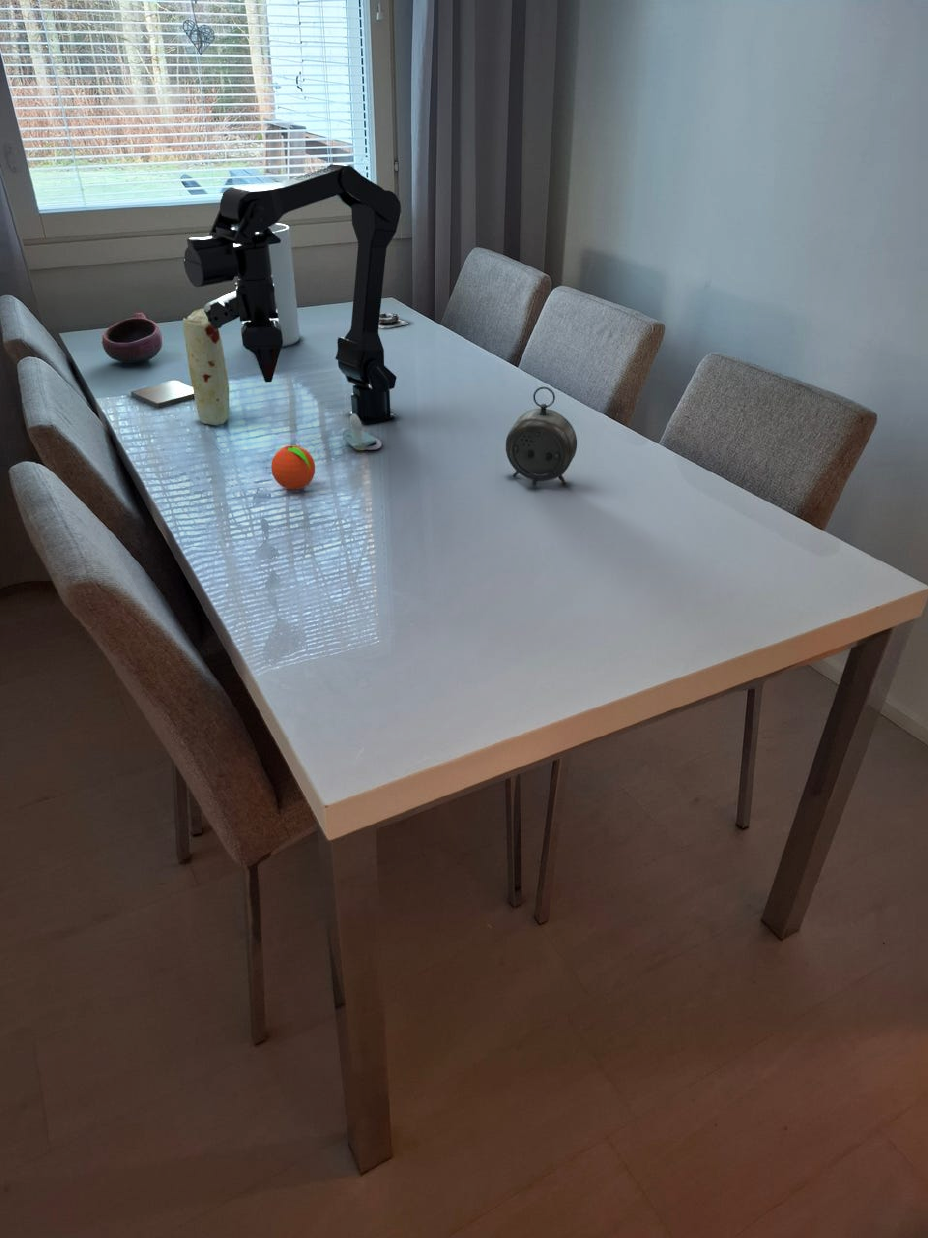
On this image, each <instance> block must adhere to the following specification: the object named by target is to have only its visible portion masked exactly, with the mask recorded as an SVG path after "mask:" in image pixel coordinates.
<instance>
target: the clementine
mask: <svg viewBox="0 0 928 1238" xmlns="http://www.w3.org/2000/svg"><path fill="white" fill-rule="evenodd" d="M270 465H271V466H270V470H271V474H272V476H273V479H274V480H275V481H276V483H278V485H280V486H281V487H283V488H285V489H287V490H291V491H292V490H300V489H304V488H305V487H306V486H308V485H309V484H310V483H311V482H312V480H313V479H314V477H315V474H316V464H315V459H314V458H313V456H312V454H311V453H310V452H309V451H308V450H307V449H305V448H304V447H302V446H299V445H296V444H294V445H293V444H292V445H291V444H290V445H284V446H283V447H282V448H280V449H279V450H277V451H276V452H275V454H274V455H273V457H272V460H271V464H270Z"/></svg>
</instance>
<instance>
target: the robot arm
mask: <svg viewBox="0 0 928 1238" xmlns="http://www.w3.org/2000/svg"><path fill="white" fill-rule="evenodd" d="M336 196H337V197H338V199H339V200H340V201H341V203H343V204H344V205H346V206H347V207H348V208H349V209H350V211H351V225H352V228H353V231H354V234H355V238H356V240H357V254H356V263H355V266H356V267H355V276H354V277H355V278H354V288H353V297H352V298H353V299H352V310H351V321H350V329H349V330H348V331H347V333H346V335H345V336H344V337H343V336H338V337H337V351H336V355H335V358H334V359H335V360H337V365H338V369H339V370H340V371H341V373H342V374H343V375H344V376H345V379H346V381H347V383H349V384H353V385H352V393H351V394H350V404H351V411H350V416H351V415H352V414H354V413H355V414H356V415H357V416H358V417H359V419H360V421H361V424H364V425H370V424H375V423H378V422H384V421H389V420H392V419H395V418H396V415H395V414H393V413H392V411H391V394H390V393H391V390H392V389H395V386H396V383H397V378H398V377H397V376H396V375H395V373H393V371H391V370H390V369H389V368H388V367H387V366H386V365H385V349H384V346H383V343H382V340H381V338H380V334H379V328H380V327H379V317H380V314H381V306H382V305H381V304H382V296H383V287H384V276H385V268H386V267H385V266H386V257H387V249H388V246H389V245H390V243H391V242H392V239H393V238H394V236H395V235H396V233H397V230H398V226H399V222H400V218H401V213H402V203H401V200H400V199H399V197H398V196H397V195H396V193H394V192H393V191H391V190H388V189H384V188H383V187H381V186H380V185H378V184H377V183H375V182H373V181H372V180H370V179H369V178H368V177H365V176H363V175H362V174H361V173H360V172H359V171H357V170H356V169H355V168H354V167H353V166H351V165H349V164H343V163H337V162H336V163H330V164H329V165H327V166H325V167H323V168H320V169H317V170H314V171H311V172H308V173H304V174H301V175H298V176H295V177H291V178H289V179H286V180H282V181H280V182H277V183H274V184H269V185H268V184H267V185H245V186H244V185H243V186H233V187H229V188H227V189H225V190H224V192H222V195H221V199H220V203H219V210H218V213H217V215H216V216H215V220H214V222H213V225H212V227H211V229H210V231H209V232H208V233H209V236H203V237H188V238H187V239H186V243H187V247H186V249H185V250H184V256H183V257H184V258H183V267H184V270H185V271H184V272H185V274H186V276H187V279H188V280H189V281H190V283H191V284H192V286H193V287H195V288H202V287H207V286H213V285H218V284H223V283H228V282H232V281H233V280H234V279H235V281H236V282H234V286H235V291H232V292H231V293H227V294H225V295H222V296H220V297H218V298H216V299H214V300H211V301H209V302H207V303H205V304H204V305H203V309H204V313H205V314H206V316H207V318H208V322H210V323H211V325H212V327H213V329H218V328H219V329H221V328H222V327H223V326H225V325H226V324H228V323H230V322H232V321H236V320H237V319H238V318H239V322H240V323H242V324H241V325H242V326H241V328H240V332H241V333H240V335H241V340H242V347H244V349H246V351H249V352H251V353H252V354H253V355H254V357H255V359H256V361H257V364H258V367H259V370H260V373H261V375H262V378H263V381H264V383H266V384H267V383H272V382H273V378H274V375H275V372H276V369H277V365H278V361H279V358H280V354H281V350H282V348H283V347H282V346H283V337H282V330H281V326H280V325H279V324H278V323H279V322H278V310H277V304H276V300H275V290H274V283H273V276H272V268H271V259H270V251H269V245H271V244H277V243H280V242H281V239H280V238H279V237H278V236H276V235H275V234H274V233H273V232H272V231H271V230H270V228H269V227H270V226H272V225H274V224H275V223H277V224H278V222H279V221H280V220H281V219H282V217H283V216H284V215H287V214H288V213H290V212H294V211H296V210H299V209H301V208H304V207H307V206H310V205H312V204H315V203H319V202H321V201H324V200H328V199H330V198H333V197H336ZM232 228H237V229H238V230H237V231H236V230H232Z"/></svg>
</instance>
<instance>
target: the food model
mask: <svg viewBox="0 0 928 1238" xmlns="http://www.w3.org/2000/svg"><path fill="white" fill-rule="evenodd" d="M182 330H183V336H184V342H185V350H186V356H187V365H188V372H189V377H190V382H191V387H192V388H193V392H194V397H195V398H194V401H195V407H196V411H197V416H198V418H199V420H200V422H201V423H202V424H203V425H212V426H218V425H223V424H225V423H226V422H227V421H228V419H229V417H230V411H231V405H230V383H229V382H230V381H229V375H228V369H227V362H226V357H225V351H224V345H223V339H222V336H221V332H220V328H218V329H213V327H212V325H211V323H210V322H208V318H207V316H206V314H205V313H204V308H200V309H196V310H193V312H192V313H190V315H188V316H187V318H185V317H183V319H182Z"/></svg>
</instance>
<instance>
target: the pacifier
mask: <svg viewBox="0 0 928 1238" xmlns="http://www.w3.org/2000/svg"><path fill="white" fill-rule="evenodd" d="M349 424H350V427H349V428H345V429H343V432H342V440H343V441H344V442H345V443H346V444H349V445H350V446H351V447H352V448H353V449H354V450H356V451H366V450H369V451H373V450H378V449H380V448H381V447H382V442H381V440H379V439H378V438H377V437H375V436H372V435H371V434H369V433H367V432H366V431H364V429H363V423H362V422H361V421H360V419H359V417H358V416H357V415H356V414H355V413H354V414H352V415H351V414H350V417H349ZM372 444H373V445H372Z"/></svg>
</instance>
